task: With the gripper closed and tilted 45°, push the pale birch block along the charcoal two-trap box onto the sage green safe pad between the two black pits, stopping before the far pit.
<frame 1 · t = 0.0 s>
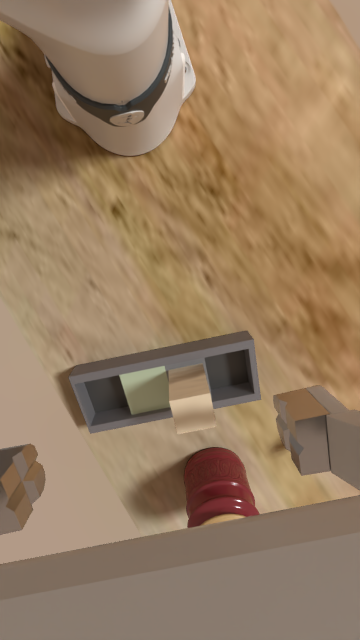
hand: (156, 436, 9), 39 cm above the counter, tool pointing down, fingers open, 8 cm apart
canister: (213, 468, 61), on the counter
block: (188, 381, 50), point 3 cm above the counter, touching trap box
trap box: (166, 377, 53), on the counter
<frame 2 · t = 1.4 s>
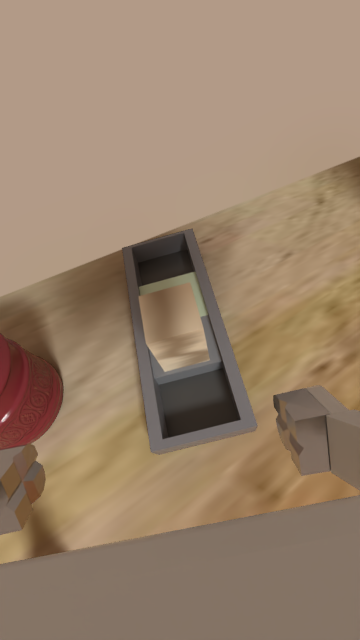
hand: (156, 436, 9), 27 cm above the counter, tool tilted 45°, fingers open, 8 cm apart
canister: (24, 403, 41), on the counter
block: (182, 345, 38), point 3 cm above the counter, touching trap box
trap box: (180, 329, 42), on the counter
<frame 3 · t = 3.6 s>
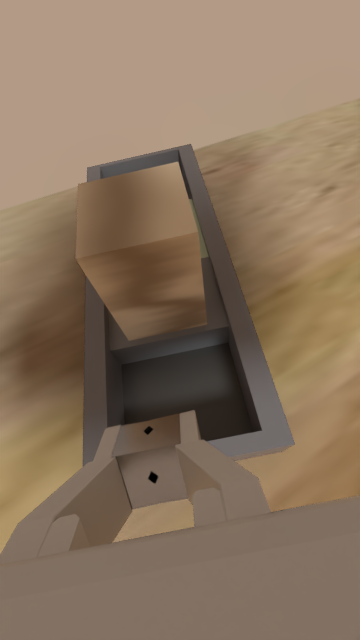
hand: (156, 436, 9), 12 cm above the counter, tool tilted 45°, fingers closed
block: (162, 300, 23), point 3 cm above the counter, touching trap box
trap box: (163, 284, 27), on the counter
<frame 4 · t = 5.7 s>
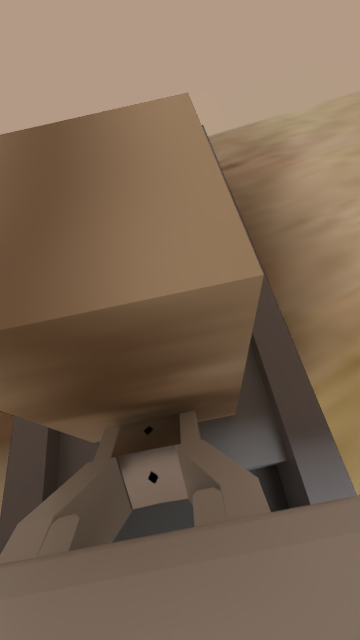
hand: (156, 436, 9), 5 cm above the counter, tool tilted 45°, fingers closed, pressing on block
block: (155, 362, 13), point 3 cm above the counter, touching gripper
trap box: (160, 342, 17), on the counter
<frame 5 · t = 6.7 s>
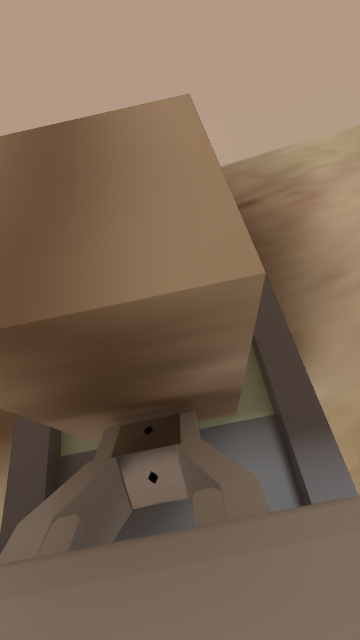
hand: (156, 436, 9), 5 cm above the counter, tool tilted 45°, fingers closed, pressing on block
block: (156, 362, 13), point 3 cm above the counter, touching gripper
trap box: (174, 434, 14), on the counter
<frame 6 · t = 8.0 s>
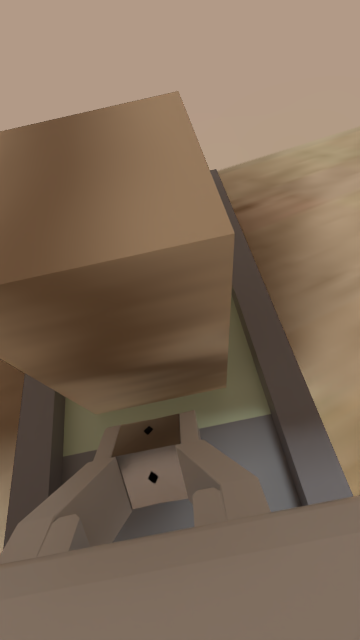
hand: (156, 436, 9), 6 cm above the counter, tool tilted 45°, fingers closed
block: (152, 342, 14), point 3 cm above the counter, touching trap box
trap box: (174, 434, 15), on the counter
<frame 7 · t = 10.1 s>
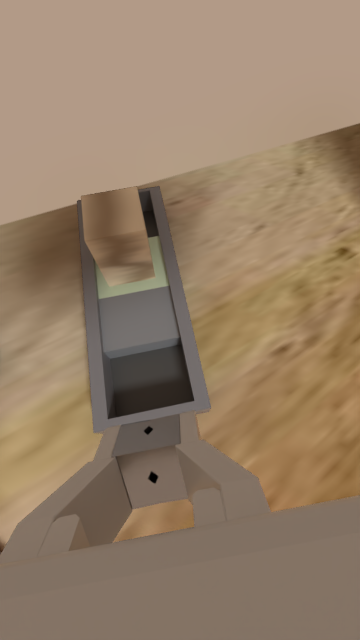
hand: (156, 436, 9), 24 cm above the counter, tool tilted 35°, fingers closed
block: (129, 263, 37), point 3 cm above the counter, touching trap box
trap box: (138, 299, 38), on the counter
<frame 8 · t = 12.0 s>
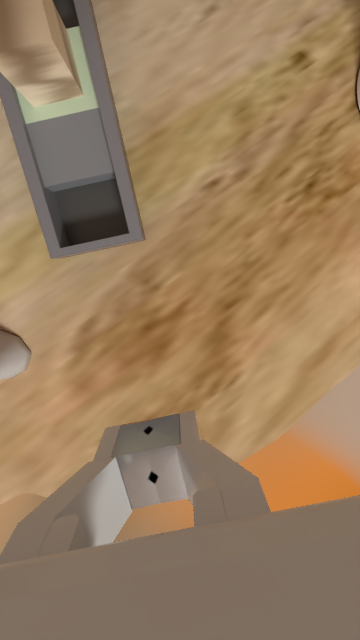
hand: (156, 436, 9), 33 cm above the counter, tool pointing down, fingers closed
block: (50, 71, 32), point 3 cm above the counter, touching trap box
flask: (7, 353, 43), on the counter
trap box: (70, 122, 36), on the counter
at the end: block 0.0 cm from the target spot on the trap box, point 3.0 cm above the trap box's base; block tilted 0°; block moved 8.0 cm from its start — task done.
